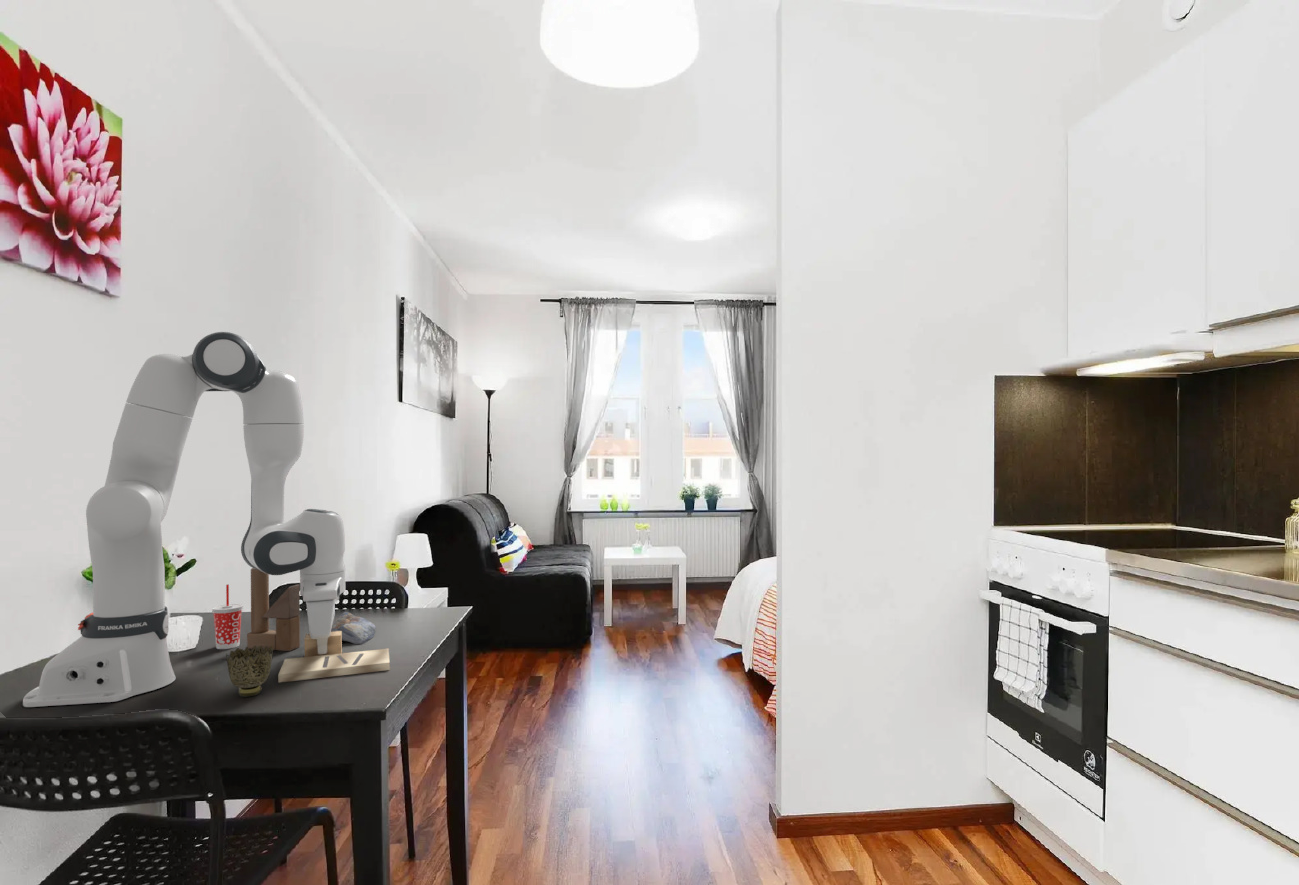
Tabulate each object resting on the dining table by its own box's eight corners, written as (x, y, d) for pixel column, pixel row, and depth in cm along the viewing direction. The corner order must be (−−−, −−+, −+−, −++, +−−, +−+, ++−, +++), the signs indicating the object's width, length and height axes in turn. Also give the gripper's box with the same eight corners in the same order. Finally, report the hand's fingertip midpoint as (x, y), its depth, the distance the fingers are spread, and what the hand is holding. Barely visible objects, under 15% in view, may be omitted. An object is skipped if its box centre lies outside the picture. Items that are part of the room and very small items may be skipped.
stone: (372, 634, 166) (328, 623, 164) (365, 654, 166) (321, 643, 163) (382, 616, 183) (342, 605, 180) (376, 634, 182) (335, 624, 180)
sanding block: (304, 662, 151) (304, 638, 151) (306, 657, 155) (306, 634, 155) (341, 658, 154) (340, 635, 154) (341, 653, 157) (341, 630, 157)
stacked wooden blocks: (289, 651, 160) (289, 569, 160) (246, 649, 162) (245, 568, 162) (300, 646, 163) (300, 567, 163) (258, 645, 165) (257, 566, 165)
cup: (239, 688, 135) (238, 645, 135) (280, 686, 136) (279, 644, 136) (218, 702, 128) (217, 656, 128) (261, 700, 128) (261, 655, 128)
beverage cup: (220, 651, 160) (220, 588, 160) (206, 647, 164) (206, 585, 164) (248, 645, 165) (248, 583, 165) (234, 641, 169) (234, 581, 169)
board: (278, 682, 138) (278, 674, 138) (285, 666, 148) (285, 659, 148) (389, 669, 145) (389, 662, 145) (388, 655, 156) (388, 648, 156)
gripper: (310, 578, 163) (311, 639, 163) (302, 594, 144) (302, 664, 144) (341, 575, 165) (341, 636, 165) (336, 592, 146) (337, 660, 146)
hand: (323, 649), depth 154 cm, fingers closed on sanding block, 4 cm apart
